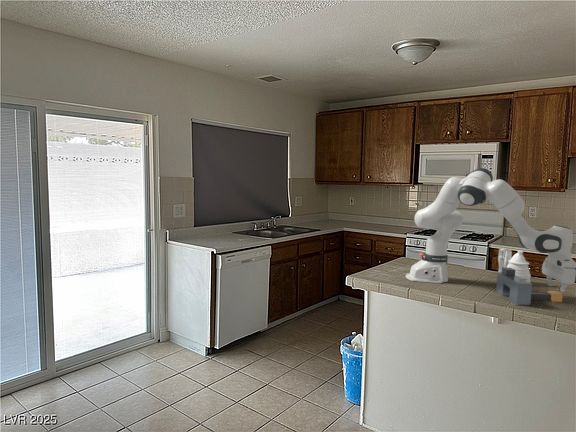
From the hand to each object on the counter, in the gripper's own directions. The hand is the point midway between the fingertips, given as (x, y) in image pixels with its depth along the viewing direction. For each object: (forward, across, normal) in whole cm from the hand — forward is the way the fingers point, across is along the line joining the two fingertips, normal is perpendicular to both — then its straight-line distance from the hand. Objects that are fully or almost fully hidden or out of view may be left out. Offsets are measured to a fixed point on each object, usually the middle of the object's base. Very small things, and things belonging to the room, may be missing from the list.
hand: (555, 288), depth 193 cm
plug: (+6, +1, -7) cm, 9 cm away
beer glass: (+6, -48, -2) cm, 49 cm away
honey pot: (+6, -30, -3) cm, 31 cm away
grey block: (+6, +1, -20) cm, 21 cm away
